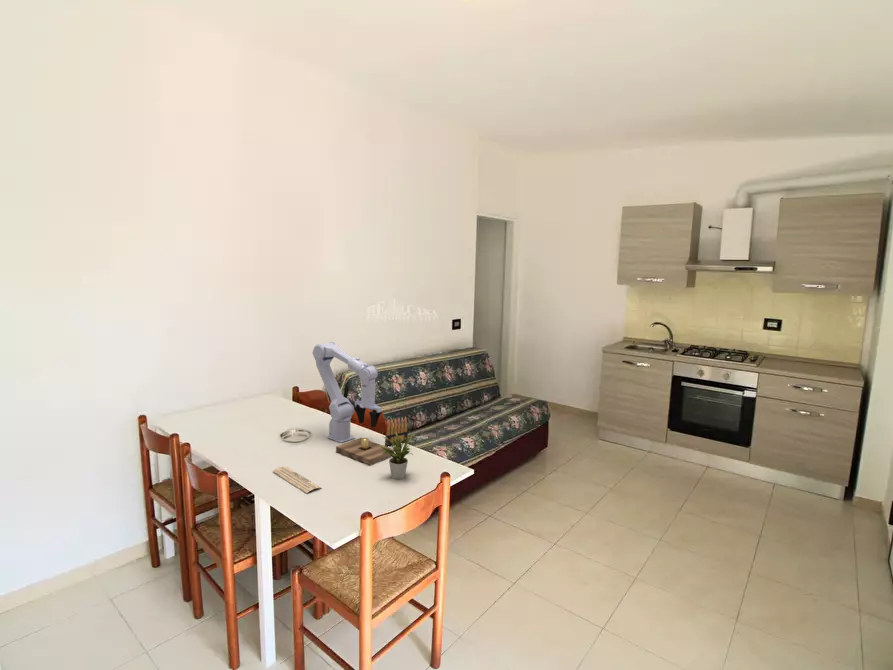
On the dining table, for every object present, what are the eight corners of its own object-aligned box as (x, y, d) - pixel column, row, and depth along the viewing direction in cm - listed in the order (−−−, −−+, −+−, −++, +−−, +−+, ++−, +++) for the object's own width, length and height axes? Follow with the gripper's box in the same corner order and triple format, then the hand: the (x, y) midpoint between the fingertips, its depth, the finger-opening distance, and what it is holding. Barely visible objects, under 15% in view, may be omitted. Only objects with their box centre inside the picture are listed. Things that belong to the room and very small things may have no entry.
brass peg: (359, 452, 204) (359, 438, 203) (365, 450, 206) (365, 437, 205) (364, 454, 202) (364, 440, 201) (369, 452, 204) (370, 439, 203)
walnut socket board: (336, 452, 204) (336, 446, 204) (360, 443, 215) (360, 437, 215) (369, 465, 193) (369, 459, 192) (394, 455, 204) (394, 449, 203)
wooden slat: (272, 474, 183) (272, 469, 183) (289, 468, 189) (289, 464, 188) (306, 496, 168) (306, 491, 167) (324, 489, 173) (324, 485, 173)
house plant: (399, 463, 196) (400, 424, 193) (425, 474, 187) (426, 433, 185) (372, 474, 185) (373, 433, 182) (398, 486, 176) (400, 443, 174)
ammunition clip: (405, 441, 220) (406, 415, 218) (407, 442, 219) (408, 416, 217) (384, 445, 214) (385, 419, 212) (386, 447, 212) (387, 420, 211)
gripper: (349, 392, 211) (349, 423, 213) (373, 399, 202) (372, 431, 204) (361, 389, 216) (361, 419, 218) (385, 396, 208) (384, 426, 210)
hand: (367, 424), depth 212 cm, fingers open, 7 cm apart
